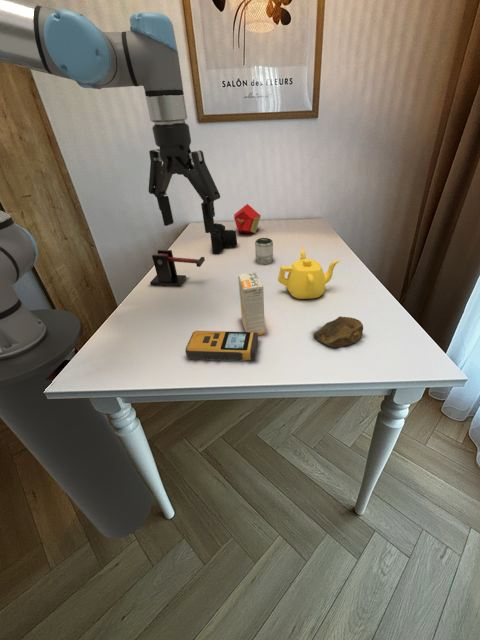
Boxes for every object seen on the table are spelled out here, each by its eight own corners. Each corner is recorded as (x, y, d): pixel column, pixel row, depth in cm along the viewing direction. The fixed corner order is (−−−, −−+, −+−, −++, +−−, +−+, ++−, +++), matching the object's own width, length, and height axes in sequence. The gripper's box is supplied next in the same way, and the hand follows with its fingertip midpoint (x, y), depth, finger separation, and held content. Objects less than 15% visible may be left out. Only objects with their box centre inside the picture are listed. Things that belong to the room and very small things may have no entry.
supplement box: (265, 334, 77) (264, 286, 69) (246, 337, 76) (243, 289, 68) (259, 317, 83) (256, 271, 75) (241, 319, 82) (237, 273, 74)
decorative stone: (336, 354, 70) (338, 342, 68) (307, 335, 76) (308, 323, 74) (366, 337, 75) (369, 325, 72) (337, 320, 81) (339, 308, 78)
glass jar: (270, 265, 109) (270, 243, 104) (253, 264, 111) (252, 242, 106) (275, 258, 114) (274, 237, 109) (258, 257, 115) (257, 236, 111)
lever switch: (205, 262, 98) (204, 255, 97) (200, 269, 94) (199, 261, 93) (162, 258, 99) (161, 251, 98) (156, 265, 96) (155, 257, 94)
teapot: (337, 290, 94) (341, 258, 87) (310, 307, 86) (312, 274, 80) (300, 277, 101) (302, 247, 95) (273, 292, 94) (273, 260, 88)
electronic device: (195, 339, 76) (193, 328, 74) (258, 340, 75) (257, 329, 73) (186, 361, 70) (183, 349, 68) (254, 363, 68) (254, 351, 66)
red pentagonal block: (265, 231, 142) (256, 235, 129) (240, 232, 145) (228, 235, 132) (264, 202, 137) (254, 203, 124) (238, 204, 140) (226, 204, 127)
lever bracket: (186, 278, 103) (180, 249, 97) (180, 286, 99) (173, 257, 92) (158, 277, 105) (150, 248, 98) (150, 285, 100) (142, 256, 94)
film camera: (235, 253, 119) (233, 229, 113) (210, 254, 119) (207, 230, 113) (237, 240, 131) (235, 217, 125) (214, 241, 131) (212, 218, 125)
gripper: (229, 120, 62) (238, 229, 75) (142, 122, 72) (163, 217, 85) (205, 123, 57) (219, 239, 70) (115, 124, 67) (142, 225, 80)
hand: (188, 227), depth 78 cm, fingers open, 13 cm apart
